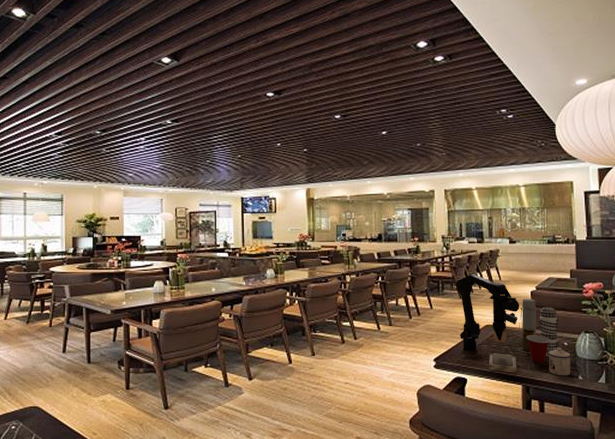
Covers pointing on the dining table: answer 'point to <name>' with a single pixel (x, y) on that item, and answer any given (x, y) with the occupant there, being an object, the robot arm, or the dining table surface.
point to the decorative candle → (549, 327)
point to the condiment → (526, 340)
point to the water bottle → (528, 315)
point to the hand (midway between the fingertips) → (499, 338)
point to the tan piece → (503, 368)
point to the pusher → (502, 359)
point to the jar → (503, 338)
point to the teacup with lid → (559, 362)
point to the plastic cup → (538, 347)
